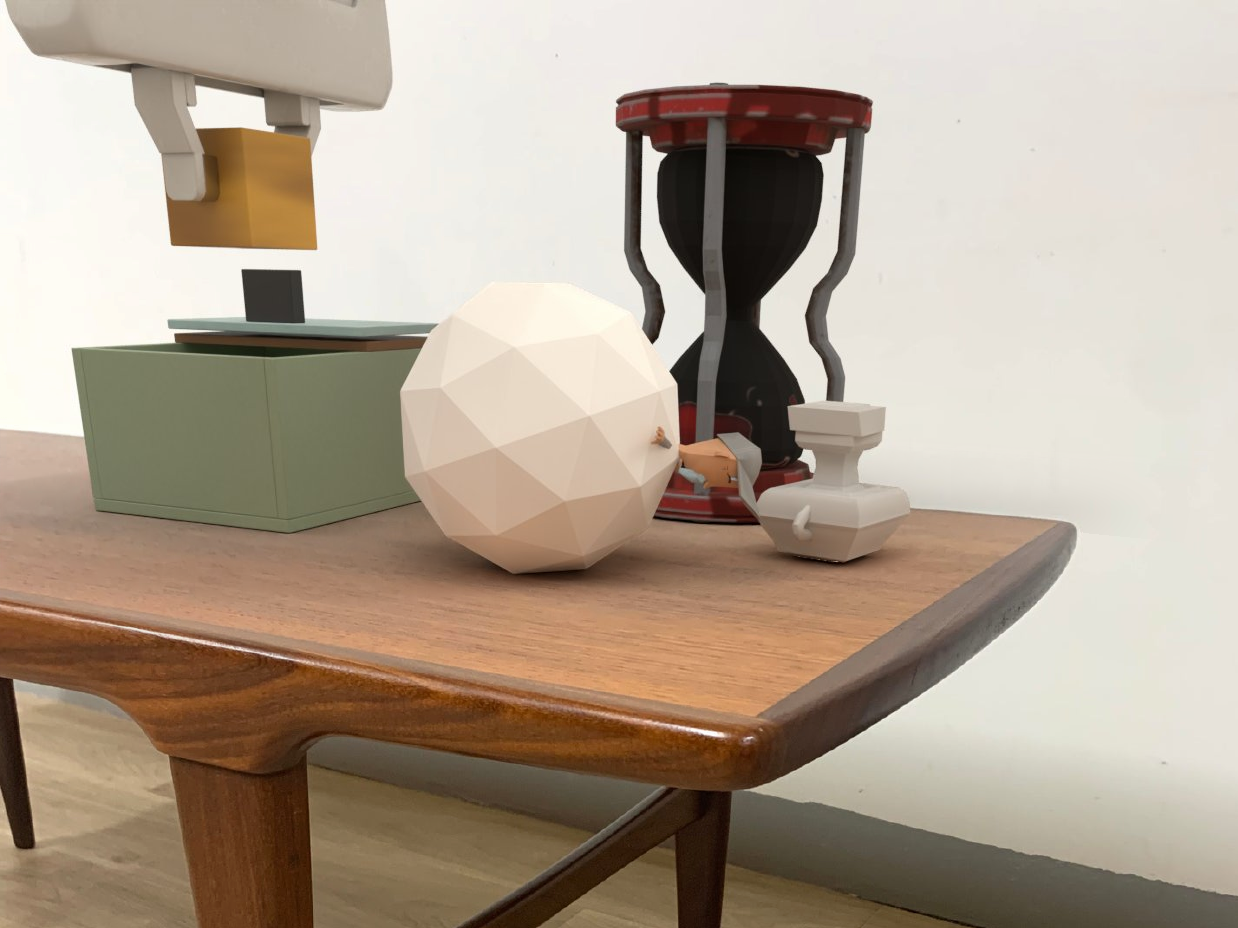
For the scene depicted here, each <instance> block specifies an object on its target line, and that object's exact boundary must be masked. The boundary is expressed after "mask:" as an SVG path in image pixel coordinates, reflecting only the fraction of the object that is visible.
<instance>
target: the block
mask: <svg viewBox="0 0 1238 928" xmlns="http://www.w3.org/2000/svg"><path fill="white" fill-rule="evenodd" d="M195 129H196V131H197V134H198V137H199V139H200V142H201V145H202V147H203V150H204V152H205V154H203V155H210V156H216V157H217V162H218V173H219V176H218V179H217V180H218V182H219V184H220V195H219V198H218V200H217V201H215V202H191V201H175V200H172V199H171V198H170V197H169V196H168V194H167V192H166V186H165V177H164V168H163V159H162V158H161V164H162V165H161V166H162V173H163V183H164V184H163V185H164V192H165V193H164V194H165V202H166V212H167V219H168V220H167V221H168V231H169V238H170V239H169V240H170V245H171V246H173V247H190V248H214V249H215V248H217V249H243V250H245V249H249V250H287V251H288V250H292V251H293V250H296V251H317V250H318V237H317V236H318V235H317V221H316V207H315V191H314V190H315V189H314V175H313V162H312V160H313V159H312V157H311V143H310V138H307V137H300V136H294V135H287V134H281V133H274V131H267V130H261V129H255V128H247V127H241V126H239V127H200V128H199V127H198V128H197V127H195ZM160 155H161V156H160V157H162V153H160Z"/></svg>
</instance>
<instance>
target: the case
mask: <svg viewBox="0 0 1238 928" xmlns="http://www.w3.org/2000/svg"><path fill="white" fill-rule="evenodd" d="M173 337H174V342H163V343H161V342H160V343H159V342H158V343H142V344H121V345H103V346H85V347H84V346H82V347H80V346H79V347H71V355H72V362H73V369H74V376H75V382H76V389H77V397H78V404H79V411H80V417H81V424H82V425H81V426H82V431H83V438H84V445H85V451H86V458H87V466H88V472H89V477H90V478H89V479H90V486H91V492H92V498H93V502H94V503H93V505H94V510H95V511H98V512H106V513H107V512H108V513H117V514H124V515H125V514H126V515H133V516H142V517H149V518H158V519H167V520H176V521H183V522H191V523H201V524H209V525H217V526H225V527H233V528H243V529H252V530H260V531H268V532H277V533H286V534H291V533H296V532H299V531H304V530H308V529H312V528H315V527H320V526H324V525H328V524H332V523H336V522H340V521H344V520H348V519H352V518H356V517H361V516H364V515H369V514H373V513H376V512H381V511H385V510H389V509H393V508H397V507H400V506H405V505H409V504H414V503H417V502H422V501H421V499H420V498H419V497H418V495H417V494H416V492H415V491H414V489H413V488H412V486H411V485H410V483H409V482H408V481H407V479H406V478H405V469H404V452H403V434H402V417H401V399H400V390H401V388H402V386H403V385H404V383H405V381H406V379H407V377H408V375H409V373H410V371H411V369H412V367H413V365H414V363H415V361H416V359H417V357H418V355H419V353H420V351H421V349H422V347H423V345H424V343H425V341H426V339H427V338H428V336H427V335H425V336H424V335H423V336H422V335H389V336H371V337H350V336H327V335H304V334H281V333H257V332H234V331H196V332H194V331H193V332H174V334H173Z"/></svg>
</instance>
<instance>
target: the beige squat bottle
mask: <svg viewBox="0 0 1238 928" xmlns="http://www.w3.org/2000/svg"><path fill="white" fill-rule="evenodd" d="M886 410H887V407H886V406H878V405H877V406H876V405H871V404H870V403H860V402H846V401H843V402H836V401H826V400H819V401H812V402H805V404H800V405H793V406H788V415H789V425H790V430H796V435H795V442H796V443H797V444H798V446H799V447H801V448H803V450H806V451H812V454H813V457H814V459H815V468H814V472H813V473H814V475H813V479H809V480H804V481H800V482H795V483H791V484H786V485H782V486H777V487H773V488H769V489H768V490H766V491H764V492H763V493H762V494H761V496H760V498H759V500H758V502H757V507H758V511H759V515H760V518H761V520H760V519H758V518H757V519H758V520H759V522H758V523H759V524H760V526H761V527H762V529H763V530H764V531H765V532H766V534H767V536H769V538H770V539H771V540H772V542H773V543H774V544H775V546H776V548H777V550H778V551H777V552H781V553H784V554H787V555H790V556H793V557H796V556H800V557H799V558H801V557H806V558H805V559H808V558H813V559H812V560H814V559H820V560H819V561H821V560H826V561H825V562H828V561H838V562H842V563H846V562H847V561H851V560H853V559H857V558H860V557H862V556H865V555H868V554H871V553H874V552H878V551H880V550H882V548H883V546H885V543H886V542H887V541H888V540H889V539H890V538H891V537H892V535H893V534H894V533H895V532H897V531H898V529H899V527H901V525H902V524H903V523H904V521H905V520H906V519H907V517H908V516H909V515H910V514H911V502H910V499H909V496H908V494H907V492H906V491H905V490H904V489H903V488H901V487H900V486H899V487H898V486H893V485H880V484H873V483H872V484H871V483H867V482H866V483H864V482H859V481H860V478H859V476H860V475H859V469H858V467H859V459H860V458H861V456H862V454H863V452H865V451H869V450H871V449H872V450H873V449H874V448H876V447H878V446H880V444H881V443H882V441H883V432H884V431H885V424H886Z"/></svg>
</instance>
